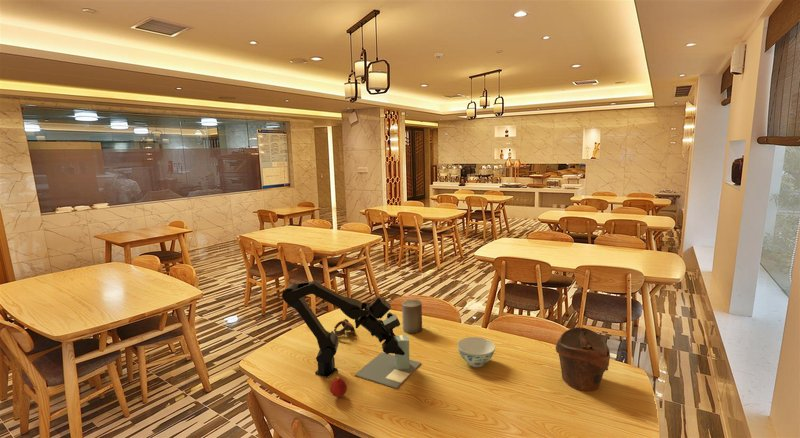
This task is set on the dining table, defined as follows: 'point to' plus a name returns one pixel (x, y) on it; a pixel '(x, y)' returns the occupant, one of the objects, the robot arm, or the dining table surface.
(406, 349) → the block
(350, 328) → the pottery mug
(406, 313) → the pillar candle
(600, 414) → the dining table surface
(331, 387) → the pomegranate
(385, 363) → the mat
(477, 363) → the chinaware
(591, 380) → the brown flower pot
